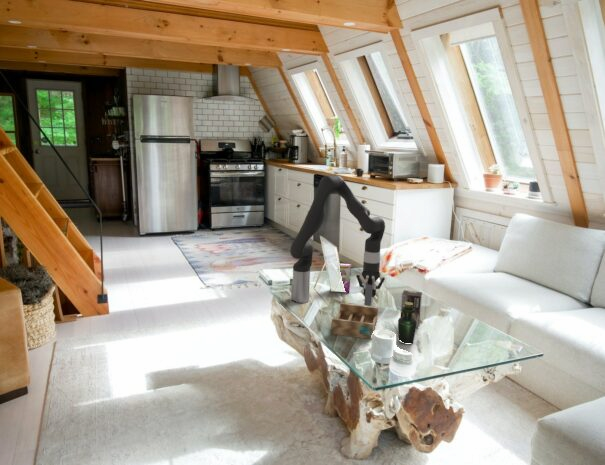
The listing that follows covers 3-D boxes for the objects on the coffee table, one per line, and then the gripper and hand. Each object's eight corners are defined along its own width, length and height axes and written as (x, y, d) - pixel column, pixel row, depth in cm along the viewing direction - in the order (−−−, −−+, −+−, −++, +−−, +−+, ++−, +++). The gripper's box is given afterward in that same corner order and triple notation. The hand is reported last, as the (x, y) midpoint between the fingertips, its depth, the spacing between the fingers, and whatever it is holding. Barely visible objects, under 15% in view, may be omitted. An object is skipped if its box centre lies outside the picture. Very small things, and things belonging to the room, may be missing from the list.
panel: (364, 305, 220) (365, 284, 218) (367, 297, 232) (368, 277, 230) (370, 306, 219) (372, 285, 217) (373, 297, 231) (375, 277, 229)
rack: (331, 333, 221) (332, 319, 219) (340, 316, 243) (340, 303, 241) (372, 339, 216) (373, 324, 215) (377, 320, 238) (378, 307, 237)
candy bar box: (330, 292, 278) (331, 264, 275) (330, 289, 283) (331, 262, 280) (349, 293, 277) (351, 266, 274) (349, 290, 282) (351, 263, 279)
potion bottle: (408, 347, 210) (412, 308, 206) (392, 341, 215) (395, 303, 212) (418, 341, 216) (421, 303, 212) (402, 336, 221) (405, 298, 217)
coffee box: (419, 323, 237) (422, 292, 233) (418, 328, 231) (421, 296, 227) (401, 320, 240) (403, 289, 236) (399, 325, 234) (401, 293, 230)
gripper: (355, 261, 220) (353, 297, 223) (386, 264, 216) (383, 300, 220) (357, 257, 227) (355, 292, 230) (387, 260, 223) (385, 295, 227)
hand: (369, 296), depth 225 cm, fingers closed on panel, 3 cm apart
